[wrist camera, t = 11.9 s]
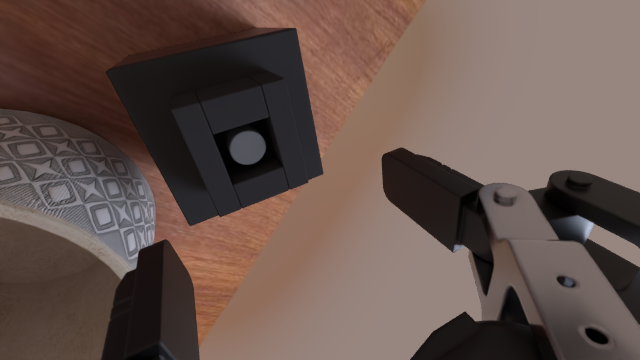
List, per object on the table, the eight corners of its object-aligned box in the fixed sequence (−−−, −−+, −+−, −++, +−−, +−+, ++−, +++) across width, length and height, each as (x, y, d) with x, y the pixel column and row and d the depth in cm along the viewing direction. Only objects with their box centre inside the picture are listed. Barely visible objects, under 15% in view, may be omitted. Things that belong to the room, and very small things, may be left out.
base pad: (109, 68, 15) (93, 79, 12) (289, 27, 17) (314, 27, 14) (189, 217, 20) (192, 250, 17) (317, 168, 23) (339, 189, 20)
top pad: (170, 96, 15) (169, 109, 13) (269, 70, 17) (285, 77, 14) (213, 193, 19) (220, 218, 16) (292, 164, 20) (308, 182, 18)
